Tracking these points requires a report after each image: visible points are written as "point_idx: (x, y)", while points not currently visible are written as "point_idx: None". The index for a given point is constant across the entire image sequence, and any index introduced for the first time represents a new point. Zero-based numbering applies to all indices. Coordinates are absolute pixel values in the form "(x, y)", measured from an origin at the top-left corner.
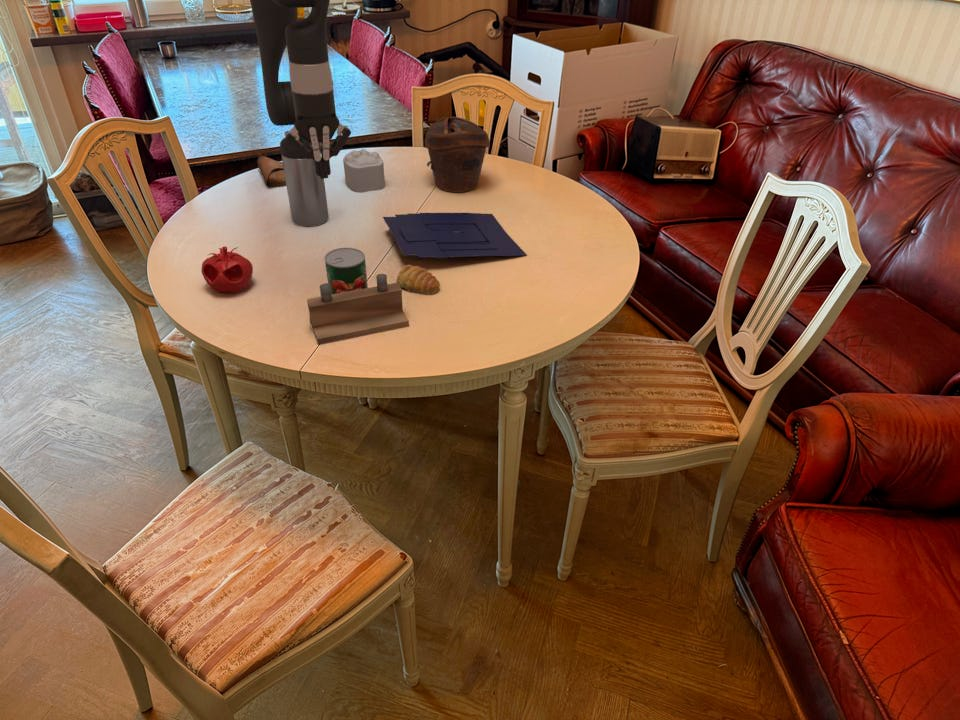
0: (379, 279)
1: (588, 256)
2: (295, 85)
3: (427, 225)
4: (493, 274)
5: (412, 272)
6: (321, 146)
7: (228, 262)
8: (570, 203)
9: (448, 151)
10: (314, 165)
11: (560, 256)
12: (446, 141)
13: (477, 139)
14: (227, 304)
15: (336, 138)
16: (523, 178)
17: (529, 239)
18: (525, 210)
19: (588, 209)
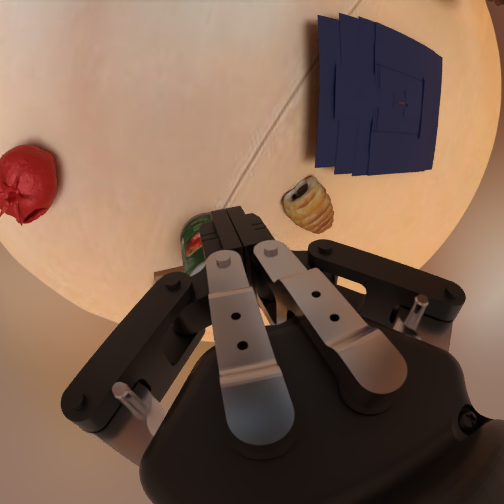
0: (260, 307)
1: (459, 187)
2: None
3: (376, 68)
4: (390, 197)
5: (310, 214)
6: (275, 290)
7: (21, 210)
8: (489, 84)
9: None
10: (202, 243)
11: (447, 180)
12: None
13: (501, 2)
14: (43, 225)
15: (378, 290)
16: (476, 8)
17: (446, 134)
18: (465, 70)
19: (493, 104)
